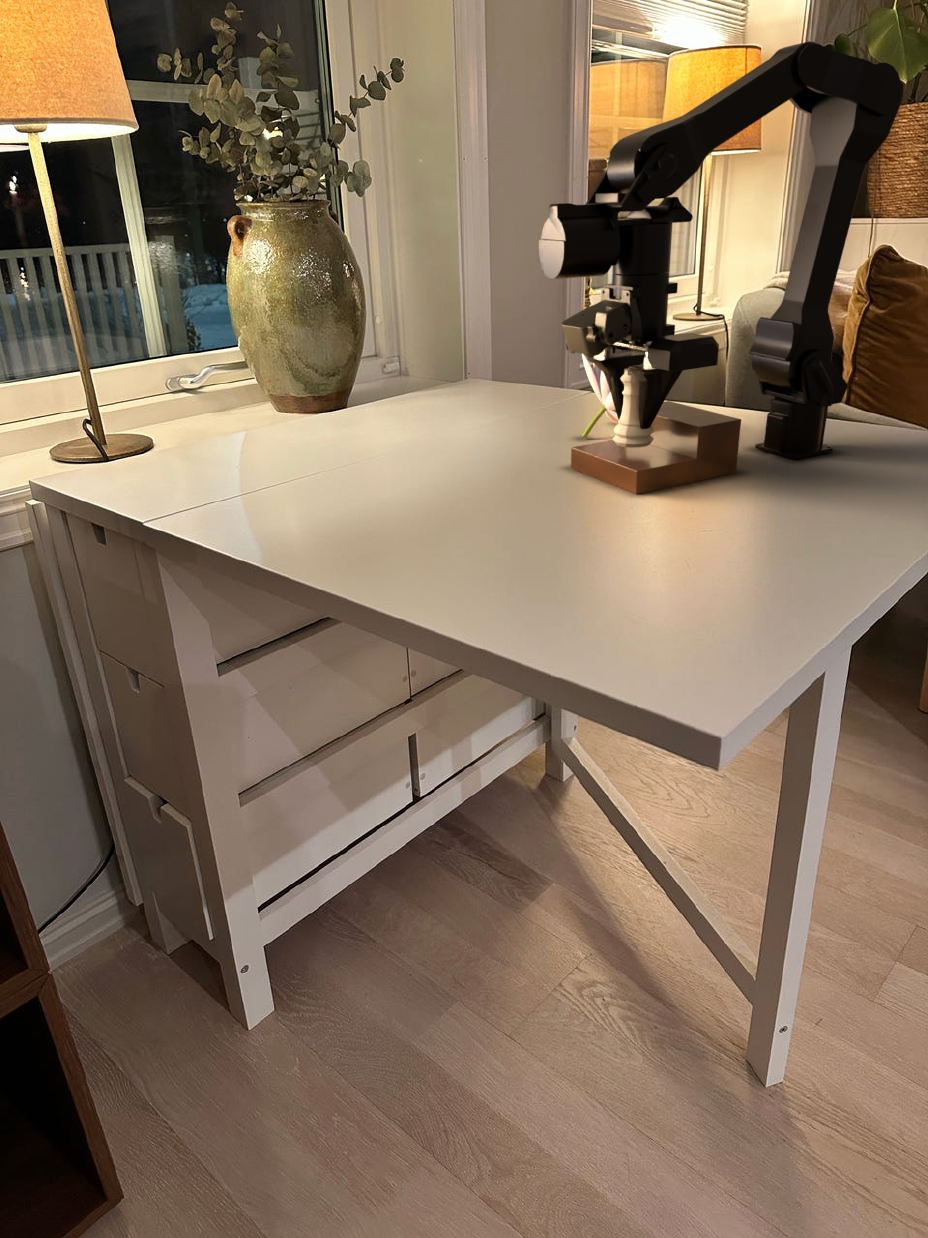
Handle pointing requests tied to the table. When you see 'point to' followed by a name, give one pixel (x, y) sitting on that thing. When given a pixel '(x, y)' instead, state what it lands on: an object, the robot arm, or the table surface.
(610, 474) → the step shelf
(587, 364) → the water lily
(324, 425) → the table surface
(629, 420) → the rook chess piece
